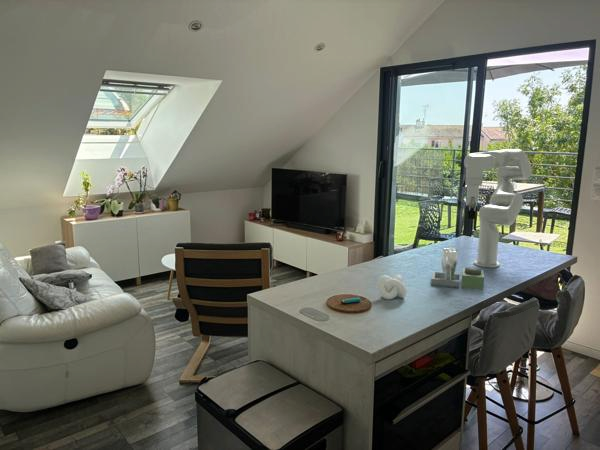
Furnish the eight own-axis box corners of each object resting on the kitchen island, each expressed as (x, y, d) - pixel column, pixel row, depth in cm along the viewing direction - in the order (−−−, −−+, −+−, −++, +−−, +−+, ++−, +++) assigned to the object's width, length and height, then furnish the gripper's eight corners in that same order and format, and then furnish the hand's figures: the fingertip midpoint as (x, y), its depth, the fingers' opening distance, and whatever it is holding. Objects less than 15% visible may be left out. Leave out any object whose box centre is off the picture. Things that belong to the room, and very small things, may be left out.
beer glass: (456, 284, 212) (459, 252, 209) (440, 283, 214) (442, 251, 211) (455, 279, 219) (457, 248, 216) (439, 278, 220) (441, 247, 217)
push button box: (432, 277, 224) (433, 262, 222) (481, 282, 217) (483, 266, 216) (431, 285, 213) (432, 269, 211) (483, 290, 206) (484, 273, 204)
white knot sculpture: (412, 297, 197) (414, 277, 196) (396, 304, 189) (397, 283, 187) (390, 290, 205) (391, 271, 203) (374, 297, 197) (374, 277, 195)
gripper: (465, 179, 230) (462, 213, 234) (465, 183, 214) (463, 219, 218) (481, 180, 228) (478, 214, 231) (483, 183, 212) (480, 220, 215)
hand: (471, 217), depth 225 cm, fingers open, 9 cm apart
